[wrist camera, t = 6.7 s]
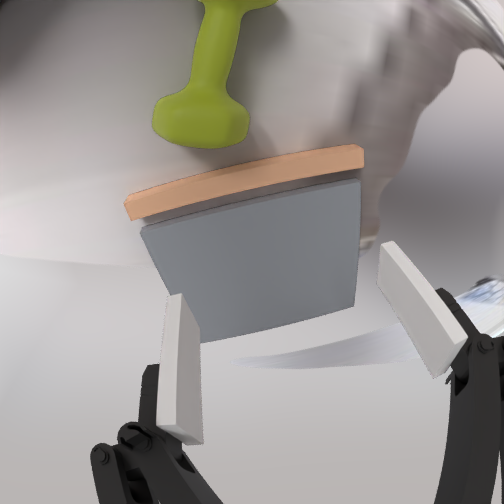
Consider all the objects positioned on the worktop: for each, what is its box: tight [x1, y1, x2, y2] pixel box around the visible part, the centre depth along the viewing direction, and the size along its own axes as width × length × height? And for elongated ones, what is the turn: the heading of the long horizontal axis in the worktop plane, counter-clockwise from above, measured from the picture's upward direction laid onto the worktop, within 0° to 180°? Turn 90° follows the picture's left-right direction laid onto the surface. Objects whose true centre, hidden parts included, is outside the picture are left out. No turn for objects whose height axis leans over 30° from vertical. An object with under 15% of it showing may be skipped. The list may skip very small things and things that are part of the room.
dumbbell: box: [152, 0, 278, 149], centre depth 17 cm, size 16×8×7 cm, turn 167°
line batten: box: [124, 144, 364, 221], centre depth 26 cm, size 2×24×2 cm, turn 101°
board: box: [140, 178, 361, 343], centre depth 34 cm, size 20×24×1 cm
